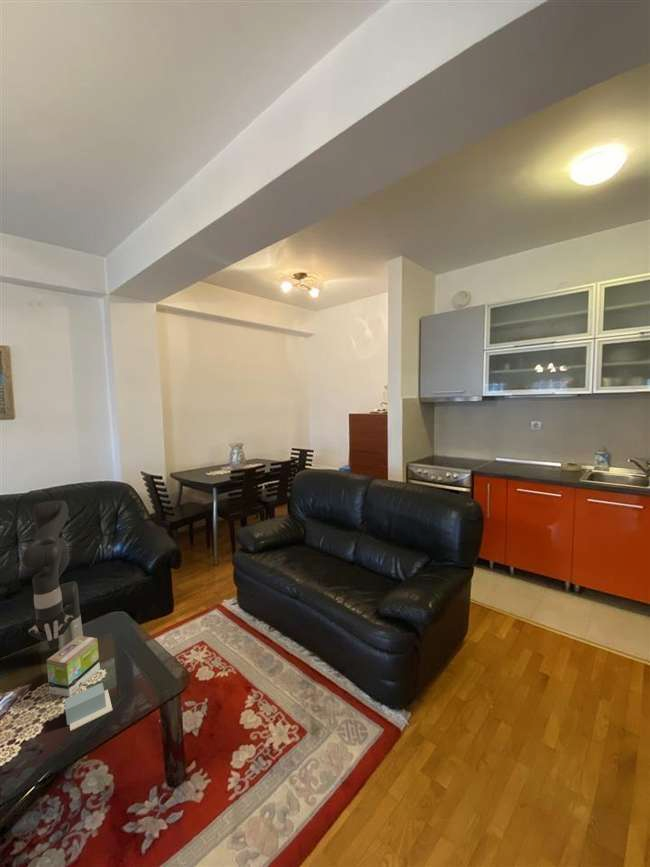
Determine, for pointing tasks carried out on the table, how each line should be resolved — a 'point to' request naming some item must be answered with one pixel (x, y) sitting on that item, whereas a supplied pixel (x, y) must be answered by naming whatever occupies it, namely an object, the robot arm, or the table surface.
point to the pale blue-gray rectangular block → (85, 703)
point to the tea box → (73, 665)
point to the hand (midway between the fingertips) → (54, 647)
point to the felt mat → (93, 714)
